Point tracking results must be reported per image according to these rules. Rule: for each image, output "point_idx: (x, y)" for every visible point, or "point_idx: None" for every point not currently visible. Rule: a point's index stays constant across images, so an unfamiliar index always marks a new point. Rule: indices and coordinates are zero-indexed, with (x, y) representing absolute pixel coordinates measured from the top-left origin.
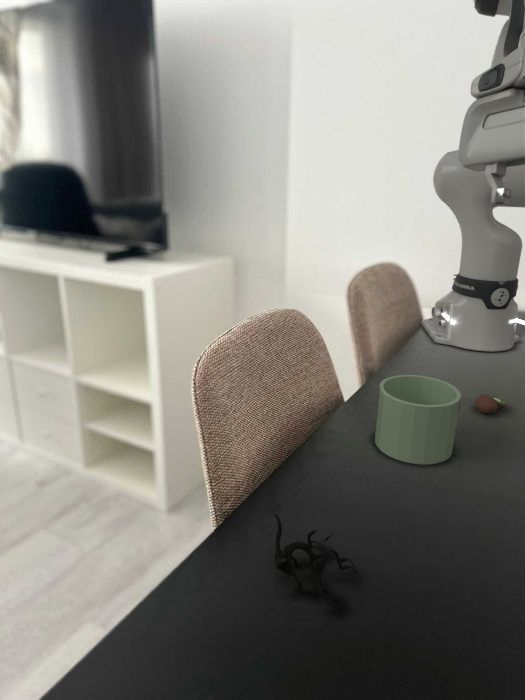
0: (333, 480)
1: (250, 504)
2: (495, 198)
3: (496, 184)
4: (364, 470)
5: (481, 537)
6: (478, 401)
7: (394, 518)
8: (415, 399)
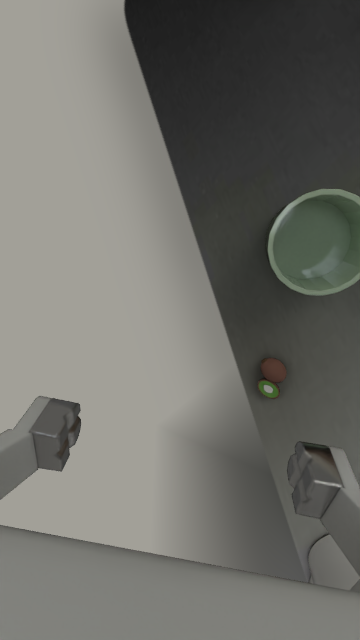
0: (346, 101)
1: None
2: (331, 454)
3: (352, 505)
4: (327, 149)
5: (193, 139)
6: (280, 365)
7: (262, 98)
8: (333, 279)
